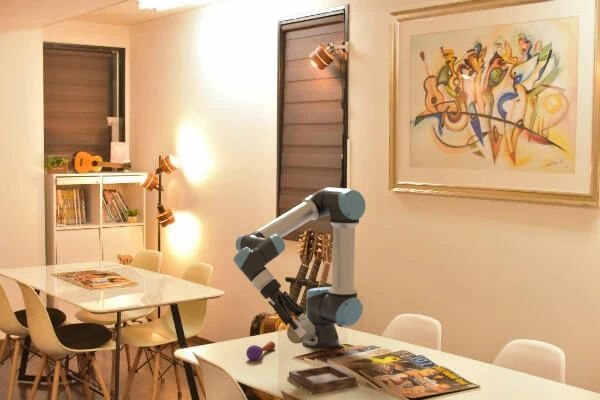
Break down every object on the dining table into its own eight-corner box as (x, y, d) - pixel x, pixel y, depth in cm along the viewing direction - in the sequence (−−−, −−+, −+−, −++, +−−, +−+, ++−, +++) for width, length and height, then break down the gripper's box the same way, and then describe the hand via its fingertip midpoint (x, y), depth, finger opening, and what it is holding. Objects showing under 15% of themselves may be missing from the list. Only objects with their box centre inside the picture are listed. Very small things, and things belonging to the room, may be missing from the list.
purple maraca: (279, 340, 332) (259, 349, 313) (276, 354, 332) (256, 364, 313) (266, 336, 334) (245, 344, 315) (263, 350, 334) (242, 359, 315)
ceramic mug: (285, 342, 296) (285, 321, 295) (297, 337, 303) (298, 317, 302) (310, 347, 290) (311, 326, 289) (322, 342, 297) (323, 321, 296)
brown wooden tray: (331, 372, 301) (331, 363, 300) (357, 386, 285) (357, 377, 285) (287, 379, 292) (287, 371, 292) (312, 394, 276) (312, 385, 276)
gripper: (270, 285, 311) (309, 331, 307) (248, 297, 290) (290, 346, 287) (283, 273, 308) (323, 319, 305) (263, 283, 288) (305, 332, 284)
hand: (307, 332), depth 296 cm, fingers closed on ceramic mug, 9 cm apart
